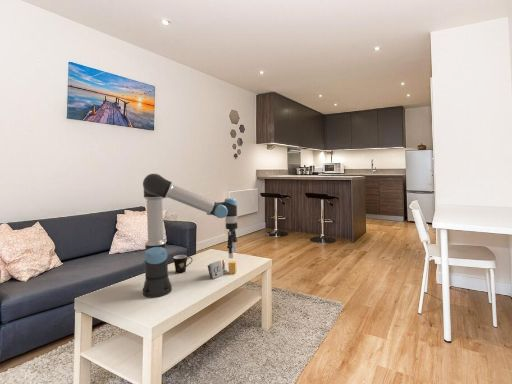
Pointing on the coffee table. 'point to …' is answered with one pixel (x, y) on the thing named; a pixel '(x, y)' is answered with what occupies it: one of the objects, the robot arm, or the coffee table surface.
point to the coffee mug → (180, 263)
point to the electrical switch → (215, 269)
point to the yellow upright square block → (232, 267)
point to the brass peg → (223, 264)
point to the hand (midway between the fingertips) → (232, 254)
